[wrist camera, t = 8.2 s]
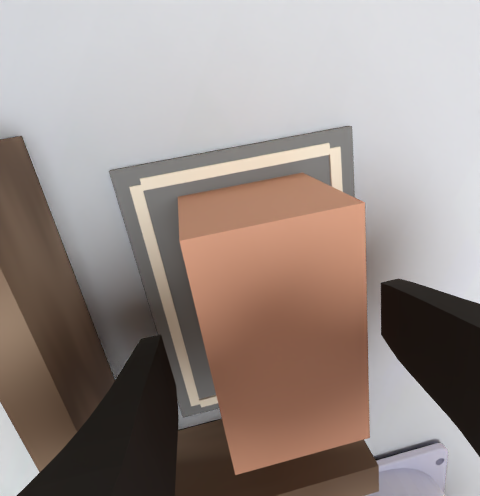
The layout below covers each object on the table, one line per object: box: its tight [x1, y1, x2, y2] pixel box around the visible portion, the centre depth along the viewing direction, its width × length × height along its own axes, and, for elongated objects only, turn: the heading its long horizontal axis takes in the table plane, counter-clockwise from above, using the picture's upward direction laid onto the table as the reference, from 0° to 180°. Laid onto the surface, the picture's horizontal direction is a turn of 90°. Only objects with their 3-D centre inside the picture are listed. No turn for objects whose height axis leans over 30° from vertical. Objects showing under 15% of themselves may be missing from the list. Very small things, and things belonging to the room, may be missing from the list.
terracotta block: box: [178, 173, 370, 475], centre depth 12 cm, size 4×8×4 cm, turn 9°
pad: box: [109, 126, 355, 417], centre depth 14 cm, size 11×8×1 cm
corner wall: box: [0, 136, 379, 496], centre depth 12 cm, size 15×11×4 cm
